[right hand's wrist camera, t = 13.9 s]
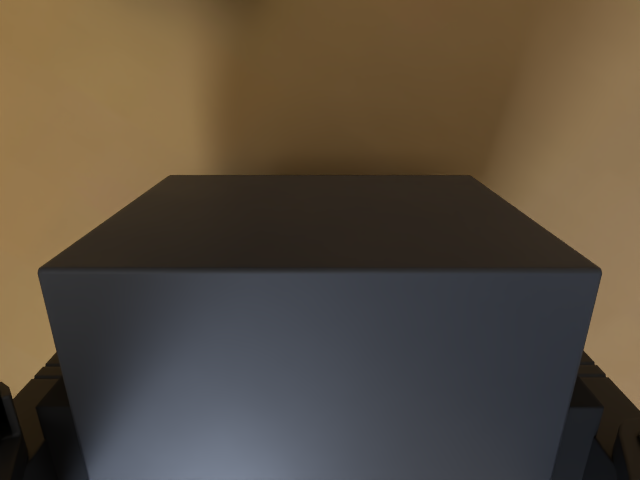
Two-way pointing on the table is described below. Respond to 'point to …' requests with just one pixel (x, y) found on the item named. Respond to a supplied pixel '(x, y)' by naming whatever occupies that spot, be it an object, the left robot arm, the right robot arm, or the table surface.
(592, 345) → the table surface
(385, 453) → the cap block
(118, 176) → the table surface
